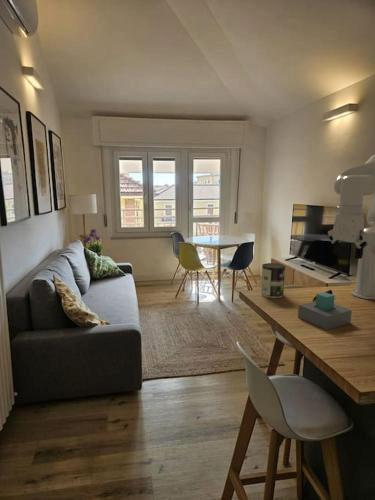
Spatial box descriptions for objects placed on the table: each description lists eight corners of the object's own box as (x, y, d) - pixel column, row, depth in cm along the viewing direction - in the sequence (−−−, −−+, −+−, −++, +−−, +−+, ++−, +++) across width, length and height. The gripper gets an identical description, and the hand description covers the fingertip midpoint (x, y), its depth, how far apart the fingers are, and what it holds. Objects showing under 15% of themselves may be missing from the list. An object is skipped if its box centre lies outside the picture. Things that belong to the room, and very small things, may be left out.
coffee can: (285, 293, 152) (287, 264, 149) (280, 299, 143) (282, 269, 140) (264, 290, 157) (265, 262, 154) (258, 296, 148) (259, 266, 146)
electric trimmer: (334, 297, 148) (335, 290, 148) (320, 304, 138) (320, 297, 137) (326, 295, 151) (327, 288, 150) (311, 302, 140) (312, 295, 140)
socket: (297, 317, 123) (298, 304, 122) (321, 311, 129) (322, 299, 128) (326, 330, 112) (327, 316, 111) (350, 323, 118) (351, 310, 117)
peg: (314, 319, 122) (316, 293, 120) (322, 316, 124) (324, 292, 122) (324, 323, 118) (326, 297, 116) (332, 321, 120) (334, 295, 118)
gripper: (323, 209, 123) (320, 252, 126) (365, 212, 107) (361, 262, 111) (337, 208, 126) (333, 250, 129) (379, 211, 111) (375, 259, 114)
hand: (346, 255), depth 120 cm, fingers open, 9 cm apart
